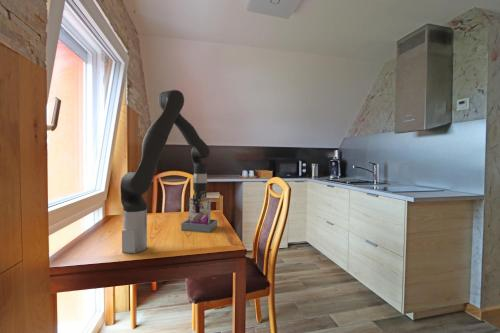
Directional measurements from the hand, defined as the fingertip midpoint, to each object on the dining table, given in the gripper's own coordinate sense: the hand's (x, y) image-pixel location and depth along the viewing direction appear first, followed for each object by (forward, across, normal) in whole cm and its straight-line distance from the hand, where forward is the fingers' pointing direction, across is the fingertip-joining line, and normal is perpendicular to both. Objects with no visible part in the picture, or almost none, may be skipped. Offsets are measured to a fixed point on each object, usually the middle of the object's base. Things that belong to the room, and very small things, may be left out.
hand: (199, 211), depth 138 cm
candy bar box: (+9, 0, 0) cm, 9 cm away
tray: (+10, 0, 0) cm, 10 cm away
